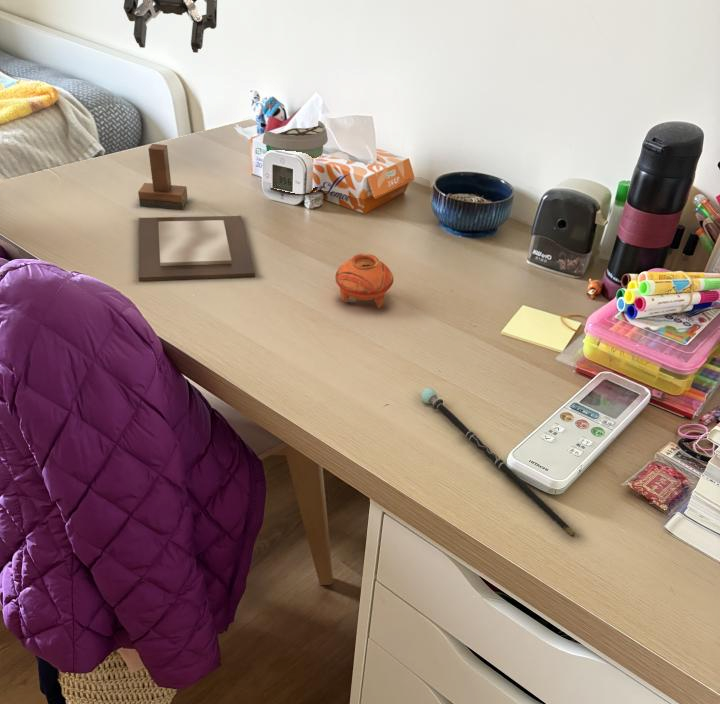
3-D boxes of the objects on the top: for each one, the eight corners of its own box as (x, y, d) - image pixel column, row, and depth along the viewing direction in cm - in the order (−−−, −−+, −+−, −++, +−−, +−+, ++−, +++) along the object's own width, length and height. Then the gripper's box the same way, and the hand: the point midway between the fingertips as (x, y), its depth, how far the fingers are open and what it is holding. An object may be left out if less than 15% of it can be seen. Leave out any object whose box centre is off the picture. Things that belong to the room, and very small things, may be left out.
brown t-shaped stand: (139, 206, 117) (132, 148, 111) (146, 196, 120) (138, 140, 114) (182, 209, 117) (177, 152, 111) (187, 200, 120) (182, 144, 114)
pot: (405, 296, 100) (405, 256, 95) (370, 327, 97) (368, 287, 92) (361, 275, 104) (358, 235, 98) (326, 304, 100) (321, 264, 95)
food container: (283, 202, 123) (283, 141, 116) (263, 190, 126) (262, 130, 119) (339, 189, 129) (342, 130, 122) (319, 178, 132) (321, 120, 125)
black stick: (568, 544, 69) (565, 538, 68) (421, 400, 84) (416, 392, 82) (582, 532, 69) (579, 525, 68) (432, 390, 84) (427, 382, 82)
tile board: (139, 281, 99) (137, 273, 98) (139, 221, 113) (138, 213, 112) (255, 276, 102) (254, 269, 101) (241, 219, 116) (240, 211, 116)
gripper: (125, -75, 110) (115, 27, 110) (217, -66, 111) (207, 35, 110) (139, -38, 118) (129, 58, 117) (225, -30, 118) (216, 65, 117)
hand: (167, 47), depth 114 cm, fingers open, 8 cm apart
